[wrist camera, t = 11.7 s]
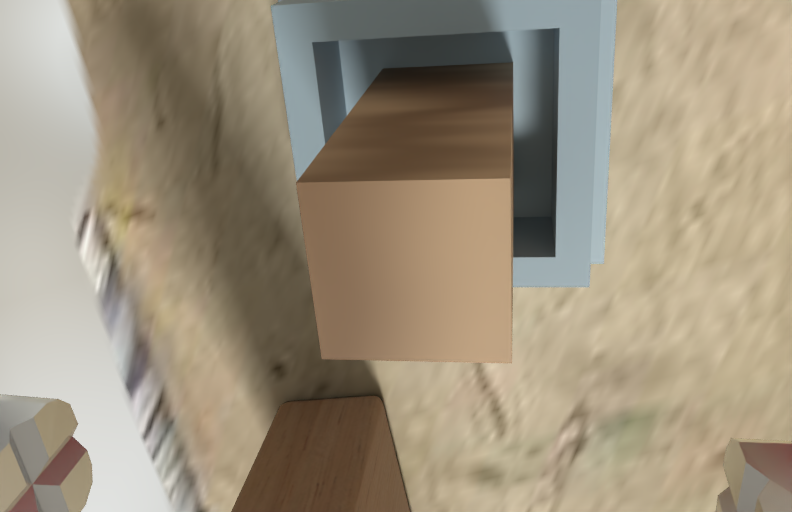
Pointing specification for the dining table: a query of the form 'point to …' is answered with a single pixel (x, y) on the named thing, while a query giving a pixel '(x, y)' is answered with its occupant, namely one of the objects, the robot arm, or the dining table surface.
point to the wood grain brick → (416, 219)
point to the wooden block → (326, 460)
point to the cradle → (532, 100)
